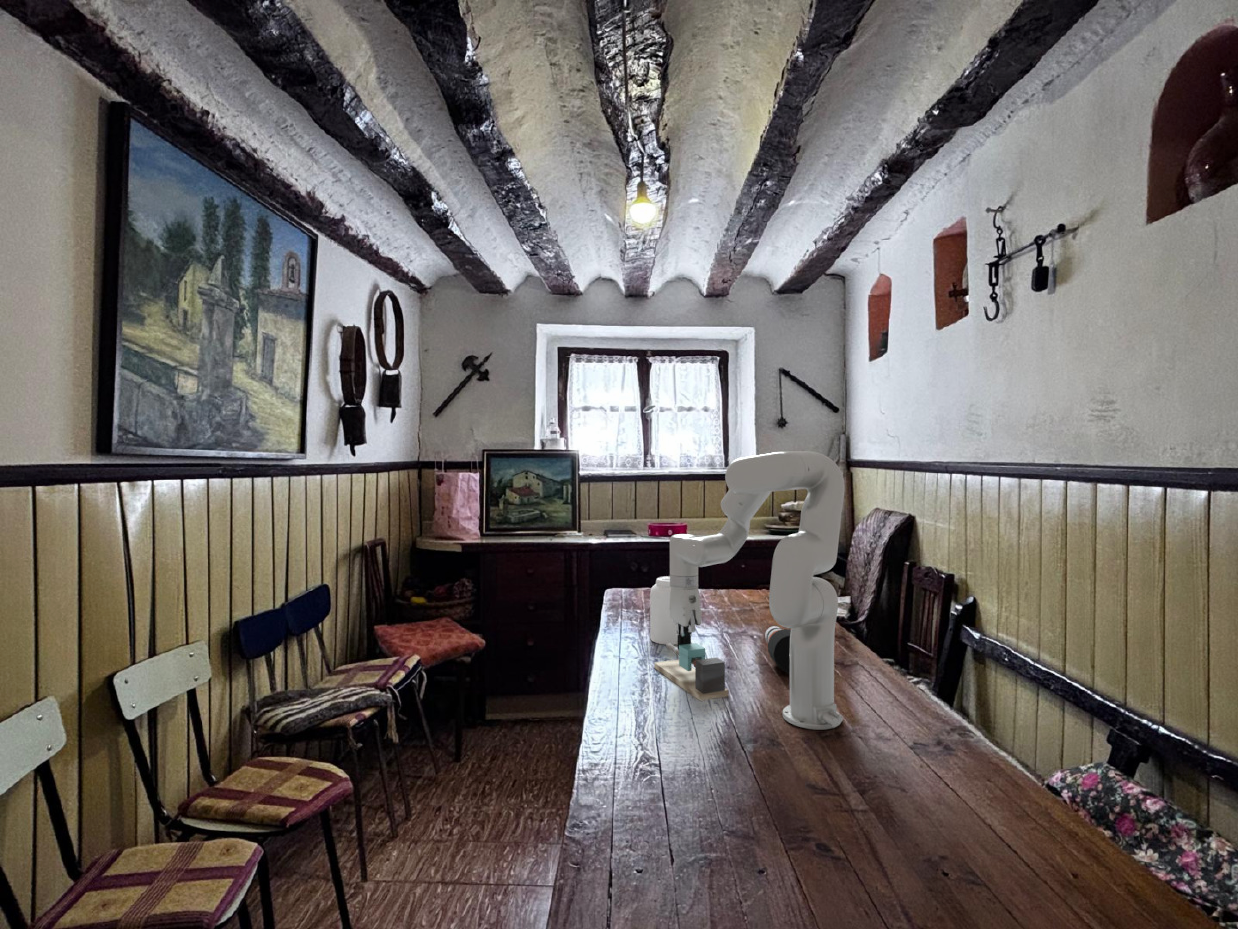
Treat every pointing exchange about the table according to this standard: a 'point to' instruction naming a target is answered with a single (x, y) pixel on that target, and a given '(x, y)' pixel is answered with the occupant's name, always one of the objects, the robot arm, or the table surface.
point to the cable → (779, 647)
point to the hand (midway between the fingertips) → (684, 649)
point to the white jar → (662, 613)
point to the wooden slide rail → (696, 676)
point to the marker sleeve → (690, 654)
